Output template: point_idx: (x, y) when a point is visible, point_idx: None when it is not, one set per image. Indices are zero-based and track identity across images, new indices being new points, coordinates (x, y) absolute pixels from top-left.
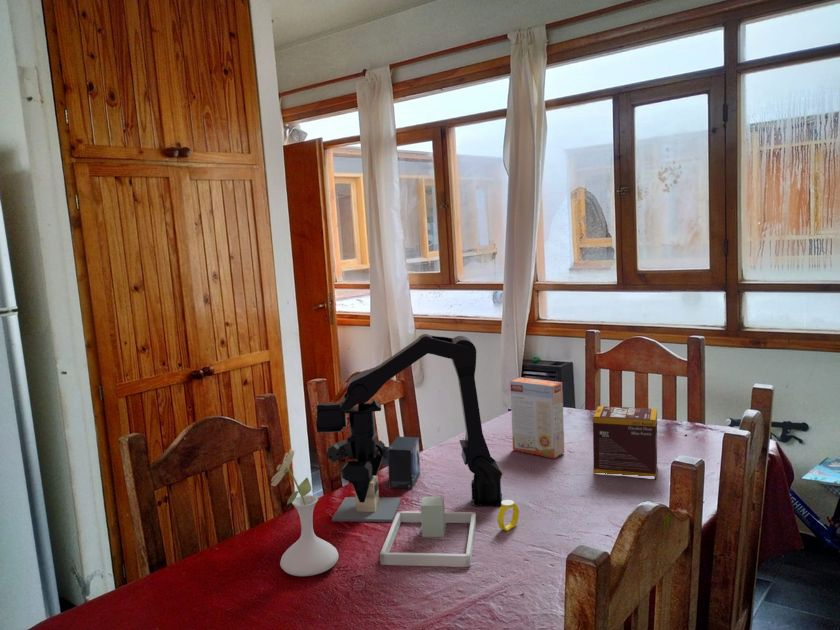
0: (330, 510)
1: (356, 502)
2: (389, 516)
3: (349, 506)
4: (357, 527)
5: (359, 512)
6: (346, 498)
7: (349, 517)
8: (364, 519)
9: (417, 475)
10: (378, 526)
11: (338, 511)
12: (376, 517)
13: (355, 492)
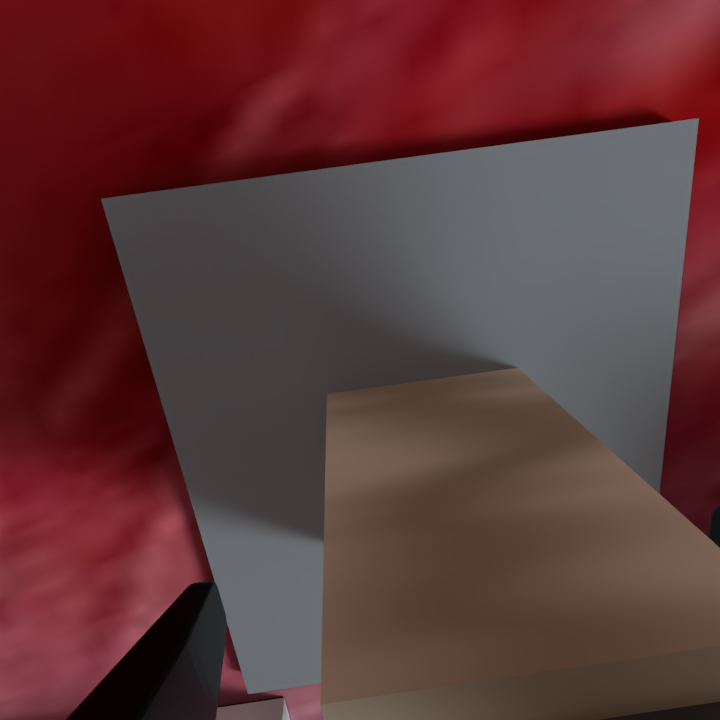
0: (373, 51)
1: (328, 450)
2: (291, 665)
3: (439, 276)
4: (82, 485)
5: (316, 428)
6: (656, 150)
7: (185, 379)
8: (196, 514)
9: None
10: (156, 617)
11: (298, 198)
12: (252, 590)
13: (326, 536)
